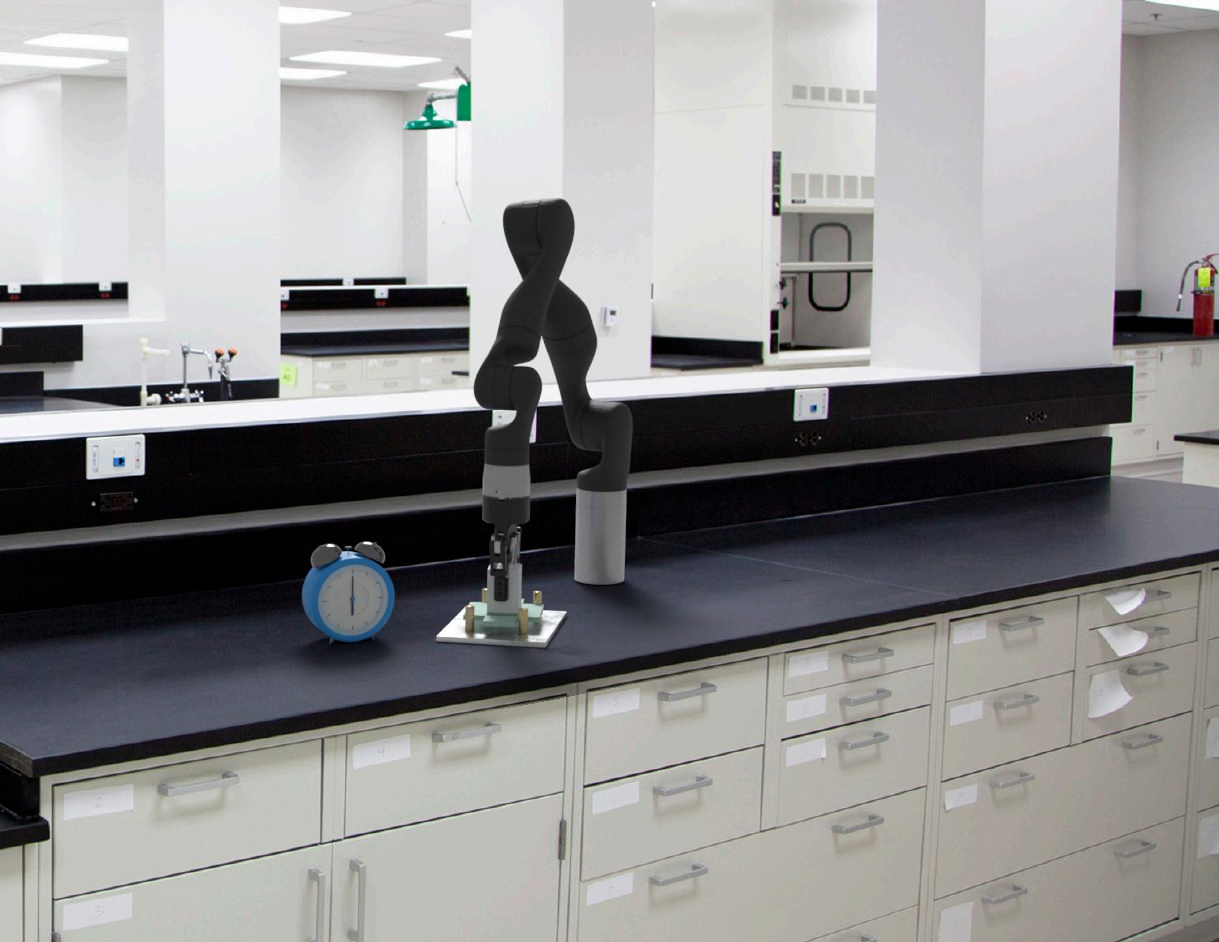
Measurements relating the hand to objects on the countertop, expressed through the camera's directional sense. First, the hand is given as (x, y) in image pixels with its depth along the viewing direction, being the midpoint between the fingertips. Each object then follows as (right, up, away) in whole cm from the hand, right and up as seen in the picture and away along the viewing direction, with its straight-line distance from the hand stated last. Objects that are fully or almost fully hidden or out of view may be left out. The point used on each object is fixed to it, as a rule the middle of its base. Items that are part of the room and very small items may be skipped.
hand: (504, 596), depth 240 cm
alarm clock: (-24, -6, -8) cm, 26 cm away
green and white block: (0, -3, 0) cm, 3 cm away
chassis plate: (0, -5, +1) cm, 5 cm away
